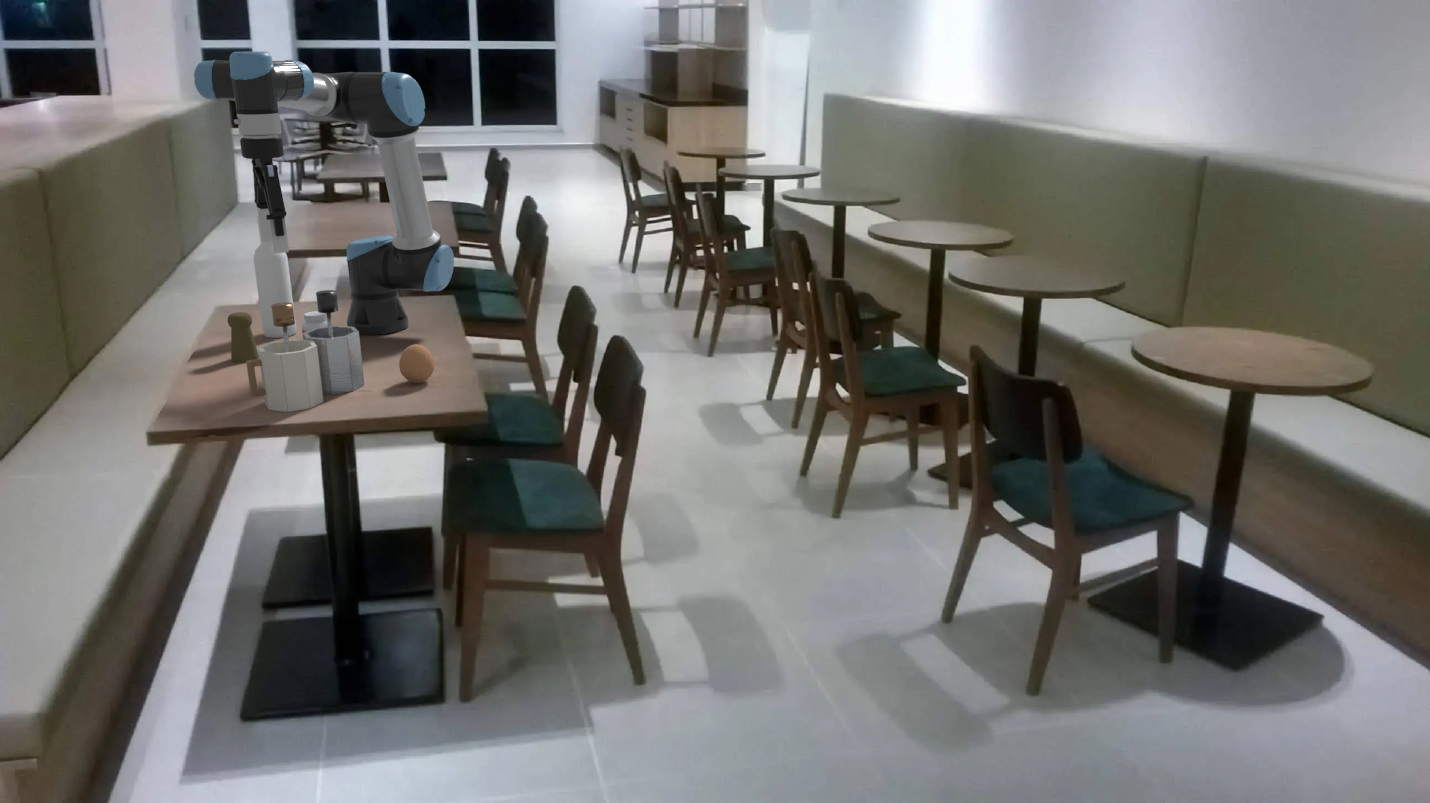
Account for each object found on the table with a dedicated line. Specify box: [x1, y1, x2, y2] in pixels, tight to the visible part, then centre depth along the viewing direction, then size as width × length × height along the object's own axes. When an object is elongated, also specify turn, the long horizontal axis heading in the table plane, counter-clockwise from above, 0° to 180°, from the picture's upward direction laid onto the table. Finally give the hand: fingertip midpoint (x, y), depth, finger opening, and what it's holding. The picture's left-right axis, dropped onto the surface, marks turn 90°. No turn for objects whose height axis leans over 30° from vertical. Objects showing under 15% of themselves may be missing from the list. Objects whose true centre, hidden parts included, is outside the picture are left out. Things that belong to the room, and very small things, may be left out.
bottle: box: [253, 215, 297, 339], centre depth 273 cm, size 8×8×30 cm
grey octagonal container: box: [302, 325, 365, 395], centre depth 235 cm, size 13×11×12 cm
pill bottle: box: [301, 310, 328, 334], centre depth 255 cm, size 6×6×11 cm
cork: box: [226, 311, 259, 363], centre depth 255 cm, size 6×6×11 cm
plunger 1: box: [271, 302, 296, 353], centre depth 223 cm, size 7×7×18 cm
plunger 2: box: [315, 289, 339, 338], centre depth 233 cm, size 7×7×18 cm
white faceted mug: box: [245, 338, 324, 413], centre depth 224 cm, size 13×11×12 cm
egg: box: [398, 343, 435, 384], centre depth 238 cm, size 7×7×8 cm
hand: (275, 246), depth 216 cm, fingers open, 13 cm apart
